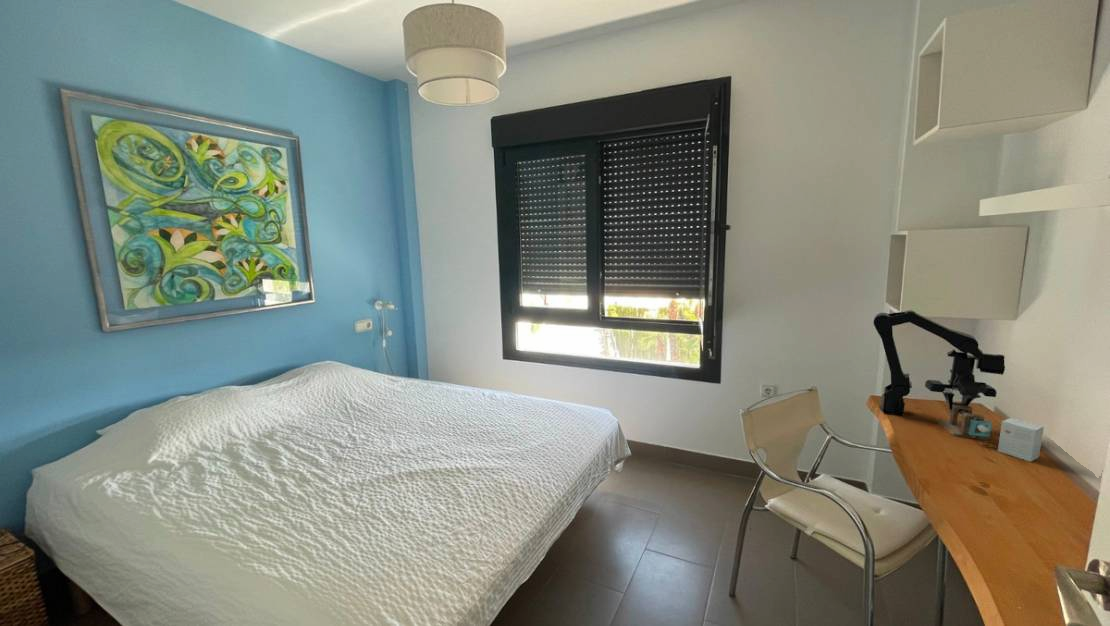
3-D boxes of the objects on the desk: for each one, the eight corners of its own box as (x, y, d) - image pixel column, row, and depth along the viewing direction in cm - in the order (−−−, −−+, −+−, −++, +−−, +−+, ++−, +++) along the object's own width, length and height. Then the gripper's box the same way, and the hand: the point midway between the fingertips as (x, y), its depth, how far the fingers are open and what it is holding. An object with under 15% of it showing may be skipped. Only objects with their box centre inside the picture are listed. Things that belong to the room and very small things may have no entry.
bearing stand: (953, 436, 154) (956, 414, 153) (937, 421, 166) (940, 400, 165) (990, 440, 151) (994, 418, 149) (971, 424, 163) (974, 403, 161)
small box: (1039, 458, 139) (1045, 426, 137) (1030, 462, 137) (1037, 430, 135) (1004, 447, 146) (1010, 417, 144) (996, 451, 144) (1002, 420, 142)
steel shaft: (977, 435, 146) (979, 424, 145) (949, 411, 165) (950, 401, 164) (990, 437, 145) (992, 425, 144) (960, 412, 164) (961, 402, 163)
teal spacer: (970, 434, 149) (972, 420, 148) (968, 433, 150) (970, 419, 149) (989, 437, 147) (991, 422, 146) (987, 435, 148) (989, 421, 147)
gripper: (940, 373, 157) (934, 415, 159) (1008, 379, 150) (1001, 422, 153) (927, 364, 167) (921, 404, 170) (991, 369, 160) (984, 410, 163)
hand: (956, 410), depth 164 cm, fingers closed on steel shaft, 3 cm apart
